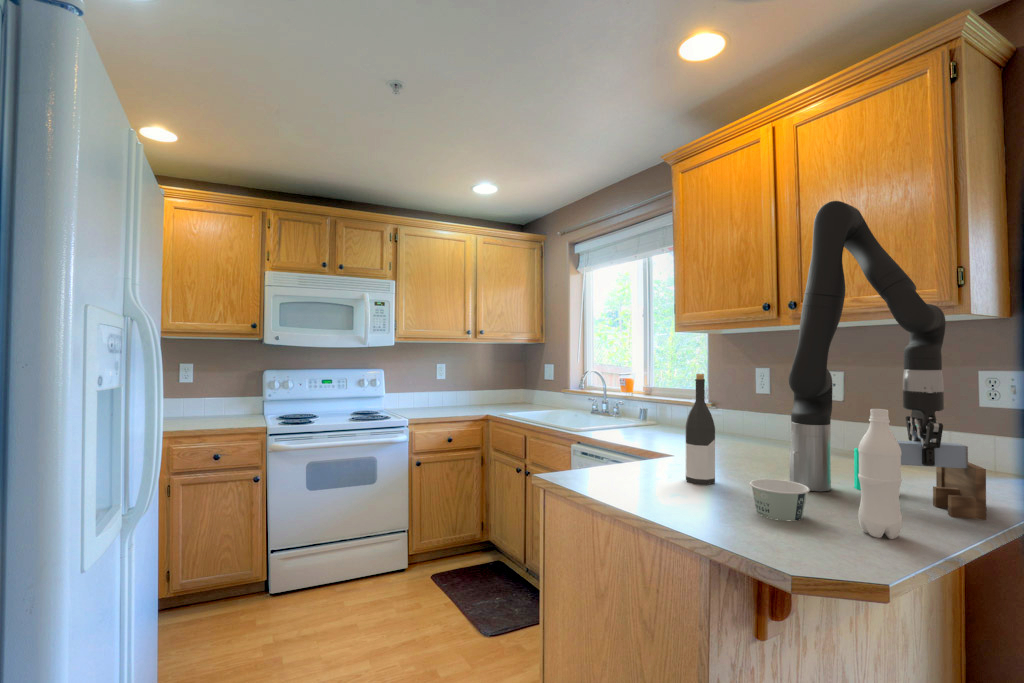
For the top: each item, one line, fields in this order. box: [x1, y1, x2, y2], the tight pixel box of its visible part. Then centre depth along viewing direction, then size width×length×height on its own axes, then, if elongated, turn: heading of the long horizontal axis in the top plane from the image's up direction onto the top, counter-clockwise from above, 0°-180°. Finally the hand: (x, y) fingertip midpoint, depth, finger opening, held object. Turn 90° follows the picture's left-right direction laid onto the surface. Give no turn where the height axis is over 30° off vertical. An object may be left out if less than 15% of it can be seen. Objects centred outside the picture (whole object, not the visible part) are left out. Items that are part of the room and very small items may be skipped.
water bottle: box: [857, 408, 903, 540], centre depth 106 cm, size 7×7×25 cm
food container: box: [749, 478, 811, 521], centre depth 119 cm, size 12×12×6 cm
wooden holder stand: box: [932, 461, 987, 521], centre depth 125 cm, size 7×18×13 cm, turn 162°
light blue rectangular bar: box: [897, 440, 969, 468], centre depth 123 cm, size 14×4×5 cm, turn 72°
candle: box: [853, 447, 861, 491], centre depth 140 cm, size 6×6×12 cm
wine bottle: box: [685, 373, 716, 486], centre depth 148 cm, size 8×8×30 cm
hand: (924, 463), depth 123 cm, fingers closed on light blue rectangular bar, 4 cm apart
